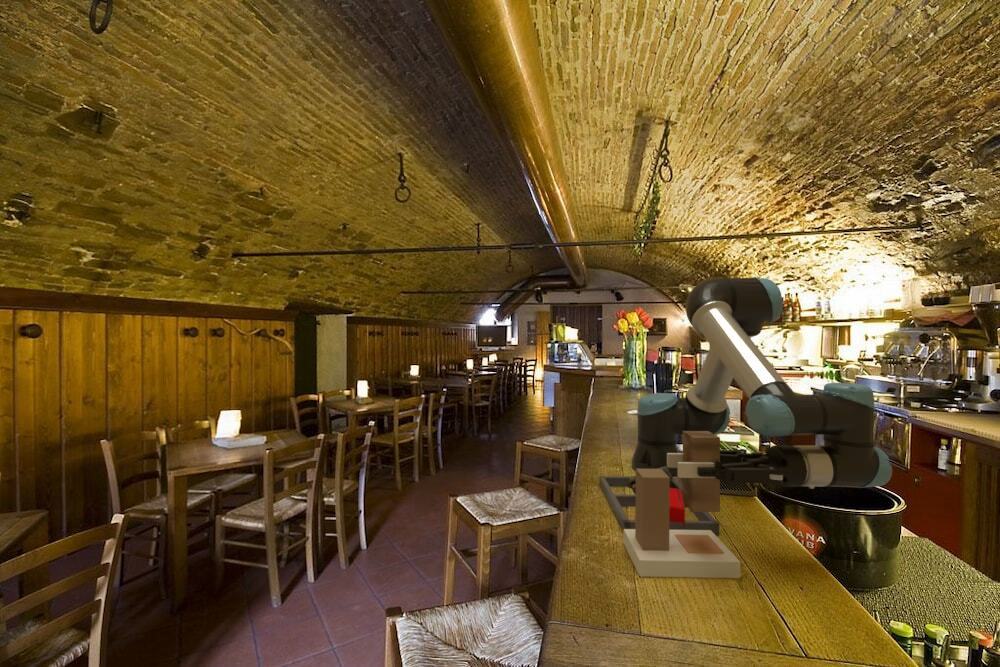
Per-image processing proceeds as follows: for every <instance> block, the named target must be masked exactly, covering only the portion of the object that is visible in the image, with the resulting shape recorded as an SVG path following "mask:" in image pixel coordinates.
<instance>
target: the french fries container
mask: <svg viewBox="0 0 1000 667" xmlns="http://www.w3.org/2000/svg"><path fill="white" fill-rule="evenodd" d="M685 519H686V507H684V503H683V501H682V494H681V490H680V489H677V488H670V510H669V521H671V522H679V523H683V526H684V528H685V521H686V520H685Z"/></svg>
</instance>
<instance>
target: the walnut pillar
mask: <svg viewBox="0 0 1000 667" xmlns="http://www.w3.org/2000/svg"><path fill="white" fill-rule="evenodd" d="M720 450H721V437H720V436H718V435H717V434H712V433H711V432H709V431H683V435H682V453H683V462H713V463H715V467H716V461H717V460H718V461H720ZM681 479H682V482H681V483H682V484H681V486H682V501H683V502H684V503H685V504H686V505H687V506H688V507H687V508H688V509H689V510H690V511H691V512H692V513H693V512H708V513H721V505H720V504H721V503H720V502H721V500H720V499H721V494H720V493H721V480H719V479H717V478H716V477H715V478H681Z"/></svg>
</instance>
